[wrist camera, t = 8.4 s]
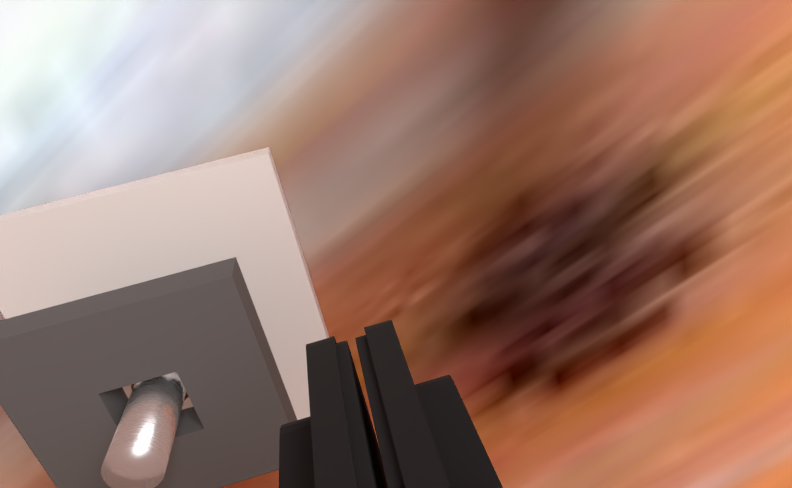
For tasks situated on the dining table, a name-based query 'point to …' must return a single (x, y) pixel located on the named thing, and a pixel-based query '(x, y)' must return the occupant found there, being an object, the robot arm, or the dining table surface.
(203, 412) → the square hole plate
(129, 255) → the stand plate
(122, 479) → the glossy pinkish cylinder
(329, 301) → the dining table surface
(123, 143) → the dining table surface
